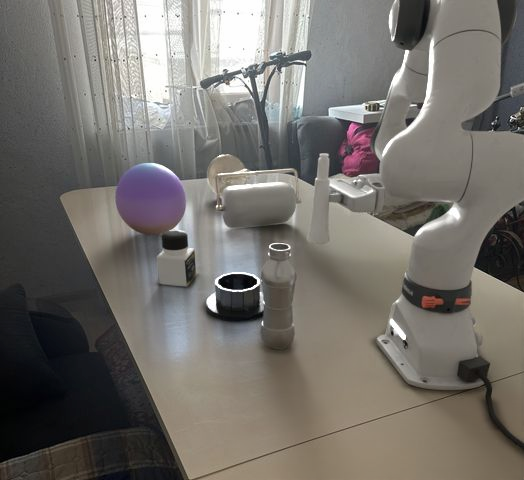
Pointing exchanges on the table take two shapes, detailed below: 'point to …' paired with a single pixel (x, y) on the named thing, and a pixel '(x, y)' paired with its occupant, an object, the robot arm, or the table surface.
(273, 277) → the plastic bottle
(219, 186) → the lamp
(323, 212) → the cosmetic bottle
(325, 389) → the table surface
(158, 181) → the ball
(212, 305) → the stand
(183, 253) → the medicine bottle
